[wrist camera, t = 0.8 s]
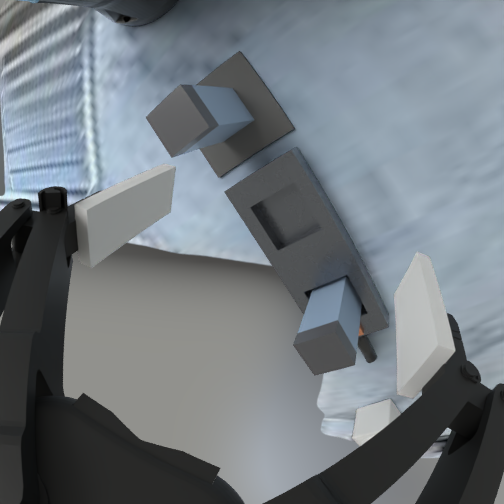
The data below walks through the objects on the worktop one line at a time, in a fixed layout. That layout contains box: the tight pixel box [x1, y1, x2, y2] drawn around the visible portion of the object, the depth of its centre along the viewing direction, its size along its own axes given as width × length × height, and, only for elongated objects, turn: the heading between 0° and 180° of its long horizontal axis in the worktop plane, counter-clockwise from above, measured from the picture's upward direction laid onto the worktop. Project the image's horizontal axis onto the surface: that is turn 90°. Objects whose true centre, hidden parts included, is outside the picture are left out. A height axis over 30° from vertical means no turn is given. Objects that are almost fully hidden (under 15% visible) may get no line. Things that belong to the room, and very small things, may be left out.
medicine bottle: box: [352, 399, 401, 446], centre depth 45 cm, size 7×7×12 cm
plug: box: [146, 85, 254, 157], centre depth 32 cm, size 5×5×12 cm
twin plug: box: [293, 275, 362, 375], centre depth 37 cm, size 5×5×12 cm
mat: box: [197, 51, 295, 178], centre depth 37 cm, size 12×12×1 cm
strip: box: [225, 147, 389, 363], centre depth 40 cm, size 32×10×4 cm, turn 35°
